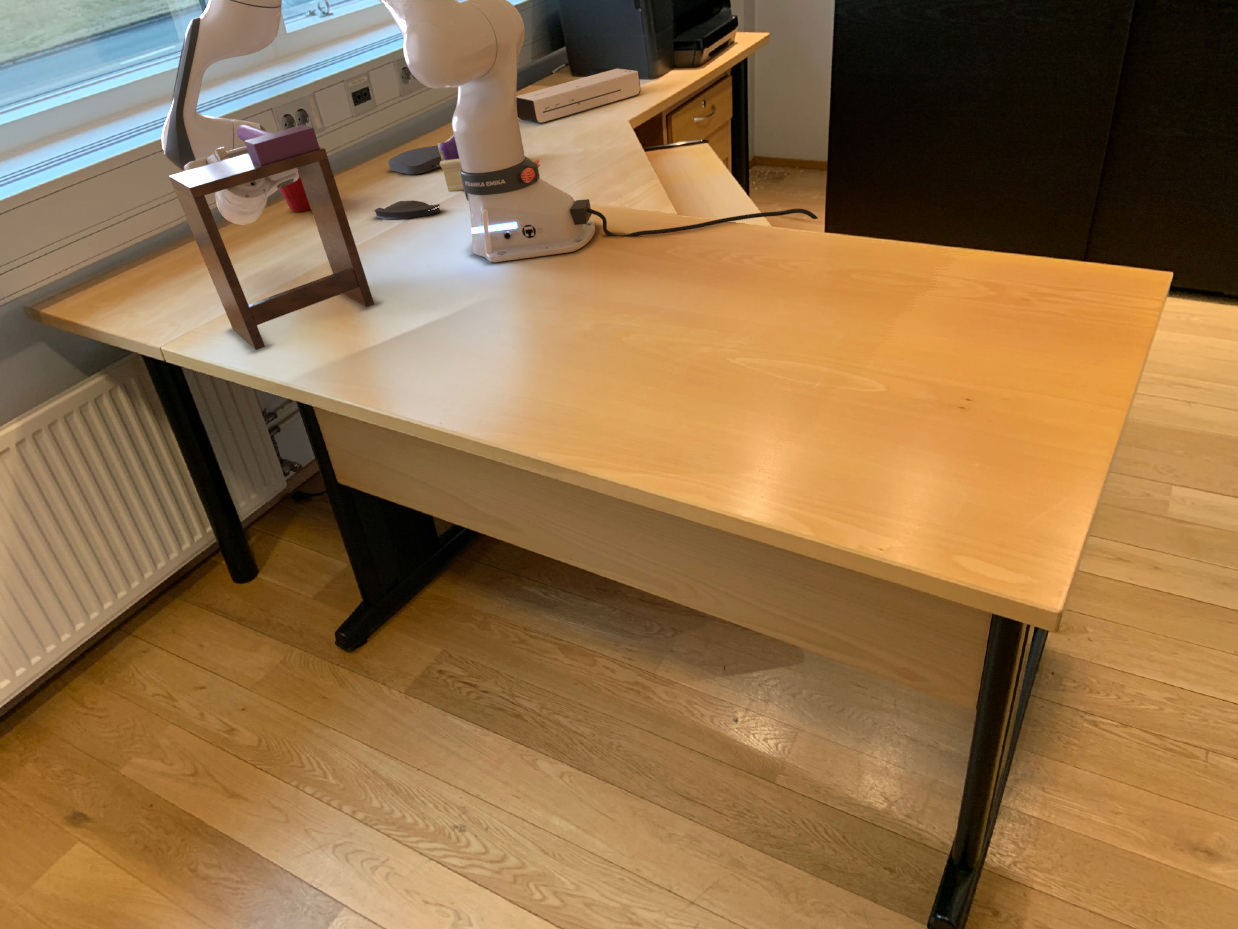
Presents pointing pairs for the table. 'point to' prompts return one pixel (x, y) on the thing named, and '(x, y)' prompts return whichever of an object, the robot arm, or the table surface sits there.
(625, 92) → the laminator
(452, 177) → the toy sofa
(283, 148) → the toy hammer
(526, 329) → the table surface
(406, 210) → the black flat piece
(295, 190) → the plastic cup
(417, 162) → the media streaming box
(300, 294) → the bench
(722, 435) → the table surface
